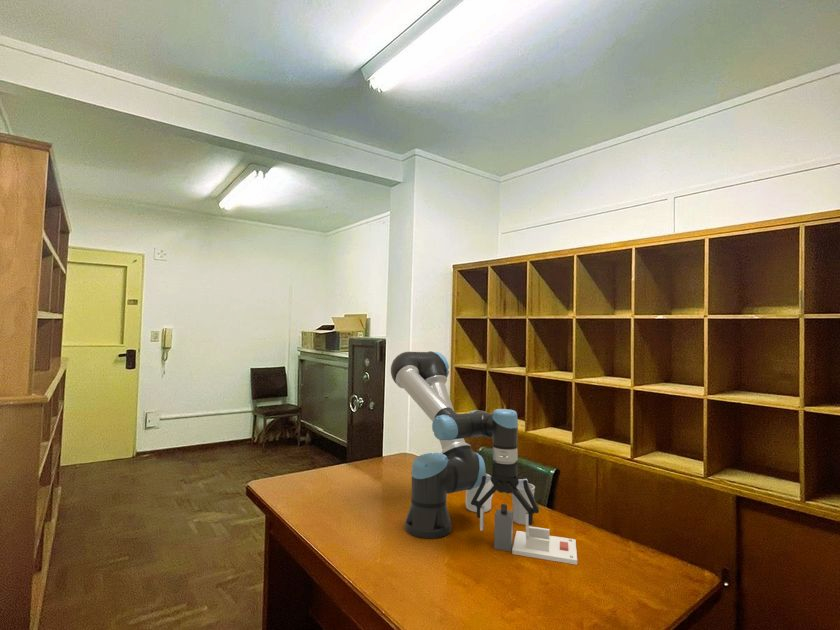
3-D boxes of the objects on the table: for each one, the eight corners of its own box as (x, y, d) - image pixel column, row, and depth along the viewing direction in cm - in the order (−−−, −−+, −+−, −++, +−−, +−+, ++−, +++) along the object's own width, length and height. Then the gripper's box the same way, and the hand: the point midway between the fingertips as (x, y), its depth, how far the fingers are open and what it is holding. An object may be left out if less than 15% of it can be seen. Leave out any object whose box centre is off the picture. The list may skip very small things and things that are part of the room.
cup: (534, 526, 151) (535, 490, 152) (510, 524, 153) (511, 488, 153) (533, 517, 159) (534, 483, 159) (510, 515, 160) (511, 481, 161)
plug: (494, 548, 134) (494, 506, 135) (496, 541, 139) (497, 501, 140) (511, 551, 133) (511, 508, 133) (512, 544, 138) (513, 503, 138)
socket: (512, 554, 131) (512, 539, 131) (516, 534, 145) (516, 521, 145) (577, 564, 126) (577, 549, 126) (575, 543, 139) (575, 529, 139)
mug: (460, 508, 166) (460, 476, 167) (478, 500, 175) (479, 469, 175) (481, 515, 160) (482, 482, 160) (499, 506, 168) (500, 475, 169)
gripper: (462, 460, 137) (461, 531, 136) (546, 468, 130) (546, 543, 129) (467, 454, 145) (466, 521, 143) (547, 461, 137) (547, 533, 136)
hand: (504, 532), depth 136 cm, fingers open, 13 cm apart
